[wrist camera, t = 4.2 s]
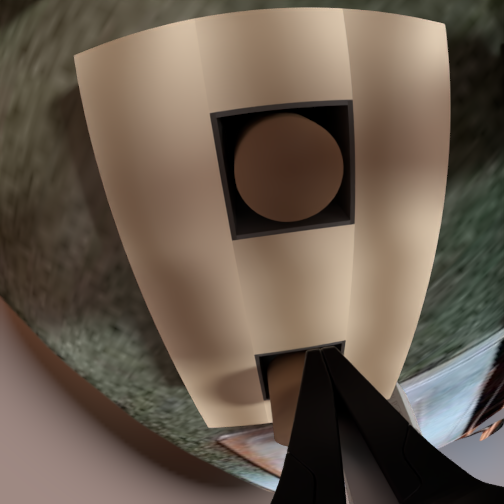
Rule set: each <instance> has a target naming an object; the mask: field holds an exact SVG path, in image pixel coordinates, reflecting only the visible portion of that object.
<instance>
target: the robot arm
mask: <svg viewBox="0 0 504 504" xmlns="http://www.w3.org/2000/svg"><path fill="white" fill-rule="evenodd" d="M343 469H344V472H343ZM344 473H345V476H346V480H347V483H348V486H349V490H350V493H351V497H352V500H353V503H354V504H504V487H502V486H497V485H492V484H488V483H485V482H482V481H480V480H478V479H476V478H474V477H473V476H471V475H470V474H468V473H467V472H466V471H465V470H463V469H462V468H461V467H459V466H458V465H457V464H455V463H454V462H453V461H451V460H450V459H449V458H447V457H446V456H445V455H444V454H442V453H441V452H440V451H438V450H437V449H436V448H435V447H434V446H433V445H431V444H430V443H429V442H428V441H427V440H426V439H425V438H424V437H423V436H422V435H421V434H420V433H419V432H418V431H417V430H416V429H415V428H414V427H413V426H412V425H409V422H408V421H407V420H406V419H405V418H404V417H403V416H402V415H401V414H400V413H399V412H398V411H397V410H396V409H395V408H394V407H393V406H392V405H391V404H390V403H389V402H388V401H387V400H386V399H385V397H384V396H383V395H382V394H381V393H380V392H379V391H378V390H377V389H376V388H375V387H374V386H373V385H372V384H371V383H370V382H369V381H368V380H367V379H366V378H365V377H364V376H363V375H362V374H361V373H360V372H359V371H358V370H357V369H356V368H355V367H354V366H353V364H352V363H351V362H350V361H349V360H348V359H347V358H346V357H345V356H344V355H343V354H342V353H341V352H340V351H339V350H338V349H337V348H336V347H334V346H330V347H324V348H321V350H320V349H312V350H307V351H306V355H305V361H304V367H303V373H302V379H301V384H300V390H299V395H298V400H297V406H296V411H295V416H294V421H293V426H292V431H291V435H290V440H289V445H288V449H287V454H286V458H285V462H284V466H283V470H282V473H281V477H280V480H279V483H278V486H277V489H276V491H275V494H274V496H273V499H272V501H271V504H346V495H345V482H344Z"/></svg>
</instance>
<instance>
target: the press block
mask: <svg viewBox="0 0 504 504" xmlns="http://www.w3.org/2000/svg"><path fill="white" fill-rule="evenodd" d="M74 60H75V66H76V72H77V78H78V83H79V89H80V94H81V99H82V104H83V108H84V113H85V118H86V122H87V126H88V131H89V135H90V139H91V143H92V147H93V151H94V154H95V158H96V162H97V165H98V169H99V172H100V176H101V179H102V183H103V186H104V189H105V193H106V196H107V199H108V202H109V205H110V209H111V212H112V215H113V218H114V221H115V224H116V227H117V229H118V232H119V235H120V238H121V241H122V244H123V246H124V249H125V252H126V254H127V257H128V260H129V262H130V265H131V268H132V270H133V273H134V275H135V278H136V280H137V283H138V285H139V288H140V290H141V293H142V295H143V297H144V300H145V302H146V304H147V307H148V309H149V311H150V314H151V316H152V318H153V320H154V323H155V325H156V327H157V329H158V331H159V334H160V336H161V338H162V340H163V342H164V344H165V346H166V348H167V351H168V353H169V355H170V357H171V359H172V361H173V363H174V365H175V367H176V369H177V371H178V373H179V375H180V377H181V379H182V380H183V382H184V384H185V386H186V388H187V390H188V392H189V394H190V396H191V397H192V399H193V401H194V403H195V405H196V406H197V408H198V410H199V412H200V414H201V415H202V417H203V419H204V421H205V422H206V424H207V426H208V427H209V428H216V427H232V426H244V425H255V424H264V423H272V422H273V421H272V412H271V403H270V394H269V385H268V376H267V367H268V365H269V363H270V362H271V361H272V360H273V359H274V358H275V357H276V356H278V355H279V354H281V353H288V352H294V351H301V350H307V349H313V348H324V347H330V346H334V347H336V348H337V349H338V350H339V351H340V352H341V353H342V354H343V355H344V356H345V357H346V358H347V359H348V360H349V361H350V362H351V363H352V364H353V366H354V367H355V368H356V369H357V370H358V371H359V372H360V373H361V374H362V375H363V376H364V377H365V378H366V379H367V380H368V381H369V382H370V383H371V384H372V385H373V386H374V387H375V388H376V389H377V390H378V391H379V392H380V393H381V394H382V395H383V396H384V397H385V399H386V400H387V399H390V397H391V395H392V392H393V390H394V388H395V385H396V383H397V380H398V378H399V375H400V372H401V370H402V367H403V364H404V362H405V359H406V356H407V353H408V350H409V348H410V345H411V342H412V339H413V336H414V332H415V329H416V326H417V323H418V319H419V316H420V313H421V309H422V306H423V302H424V298H425V295H426V291H427V287H428V283H429V279H430V275H431V270H432V266H433V261H434V257H435V252H436V247H437V242H438V236H439V231H440V225H441V219H442V212H443V205H444V198H445V190H446V181H447V171H448V159H449V143H450V72H449V57H448V46H447V37H446V29H445V24H443V23H438V22H434V21H430V20H425V19H420V18H415V17H410V16H404V15H398V14H391V13H384V12H376V11H367V10H355V9H341V8H277V9H262V10H251V11H241V12H233V13H226V14H219V15H212V16H206V17H201V18H196V19H190V20H186V21H181V22H176V23H172V24H168V25H164V26H160V27H156V28H152V29H149V30H145V31H142V32H138V33H135V34H132V35H128V36H125V37H122V38H119V39H116V40H113V41H110V42H107V43H105V44H102V45H99V46H97V47H94V48H91V49H89V50H86V51H84V52H81V53H79V54H77V55H74ZM302 107H315V115H316V124H318V125H320V126H321V127H322V128H324V129H325V130H326V131H327V132H328V133H329V134H330V135H331V136H332V137H333V138H334V140H335V141H336V143H337V145H338V146H339V149H340V151H341V154H342V159H343V177H342V181H341V185H340V187H339V190H338V192H337V193H336V195H335V197H334V198H333V199H332V201H331V202H330V203H329V204H328V205H327V206H326V207H325V208H324V209H323V210H321V211H320V212H318V213H317V214H315V215H313V216H311V217H309V218H306V219H303V220H299V221H292V222H281V221H275V220H271V219H268V218H266V217H263V216H261V215H260V214H258V213H256V212H255V211H254V210H252V209H251V208H250V207H249V206H248V205H247V204H246V203H245V201H244V200H243V199H242V197H241V195H240V193H239V191H235V186H234V179H233V173H232V167H231V161H230V155H229V148H228V142H227V136H226V129H225V123H224V116H231V115H238V114H245V113H252V112H261V111H269V110H279V109H289V108H302Z"/></svg>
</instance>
